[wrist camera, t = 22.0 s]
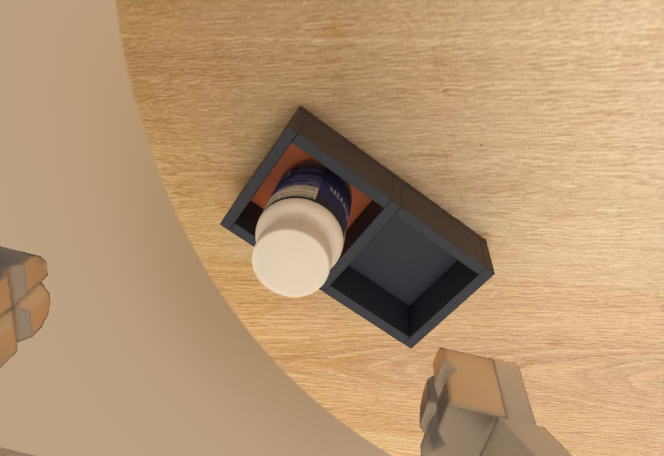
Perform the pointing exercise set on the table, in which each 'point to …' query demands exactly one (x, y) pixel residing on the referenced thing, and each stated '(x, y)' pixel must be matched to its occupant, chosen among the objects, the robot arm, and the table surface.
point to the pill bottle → (302, 230)
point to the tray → (376, 235)
